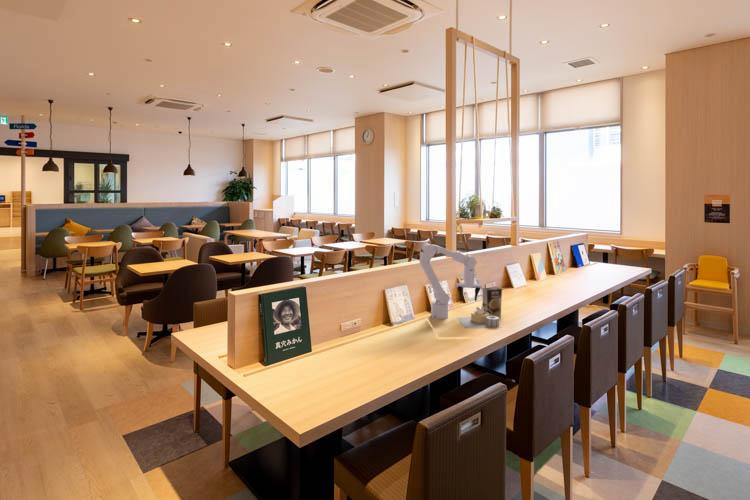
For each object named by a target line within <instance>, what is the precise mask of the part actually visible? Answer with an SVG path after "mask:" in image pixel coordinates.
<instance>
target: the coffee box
mask: <svg viewBox="0 0 750 500" xmlns="http://www.w3.org/2000/svg"><path fill="white" fill-rule="evenodd" d="M502 292H503V289H502V288H499V287H497V286H495V287H493V286H492V287H482V305H481V307H483V308H484V311H485V312H488V313H490V316H497V317H499V318H500V317H501V316H502V300H503V299H502V296H503V295H502V294H503V293H502Z"/></svg>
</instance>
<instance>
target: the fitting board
mask: <svg viewBox="0 0 750 500" xmlns="http://www.w3.org/2000/svg"><path fill="white" fill-rule="evenodd" d="M470 316H471V317H469V316H467V317H462V316H461V317H456V319H457V320H458V322H459V323H460V324H461V325H462V327H463V328H464V329H494V328H495V329H497V328H501V329H502V328H504V327H503V326H502V325H501V324H500V316H499V317H498V316H497V315H493V316H490V313H488V312H485V311H484V314H476V310H473V311H471V312H470Z"/></svg>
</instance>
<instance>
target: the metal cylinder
mask: <svg viewBox="0 0 750 500" xmlns="http://www.w3.org/2000/svg"><path fill="white" fill-rule="evenodd" d="M475 311H476V314H484V308H483V307H482V306H477V307H476V310H475Z"/></svg>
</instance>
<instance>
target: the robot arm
mask: <svg viewBox="0 0 750 500" xmlns="http://www.w3.org/2000/svg"><path fill="white" fill-rule="evenodd" d="M439 254H442V255H445V256H448V257H451V259H452V261H455V262H457V263H460V264H464V267H463V271H464V273H463V275H464V277H463V282H462V283H458V282H457V283H455V287H456V288H457V290H458V291H457V292H458V293H459V296H460V301H463V300H464V288H465V289H466V288H467V289H468V288H469V289H474V302H477V299H478V295H479V293H480V290H481V289H482V290H483V284H478V283H475V270H476V269H475V267H476V266H477V259H476V258H475V257H474V256H472V255H470V254H469V253H464V252H462V250H454V251H452V250H449V249H447V248H445V247H442V246H440V245H436V244H433V243H429V242H424V243H423V244H422V245H421V246H420V248H419V264H420V266H421V268H422V269H423V272H424V274H425V276H426V278H427V280H428V282H429V284H430V285H431V288H432V292H433V297H434V300H435V302H434V303H431V304H430V316H431V318H432V320H433V319H439V320H440V319H441V320H442V319H443V320H445V319H448V317H449V302H450V296H449V294H448V293H446V290H445V289H444V288H443V286H442V285H441V283H440V280H439V279H438V277H437V275H436V273H435V271H434V268H433V266H432V265H431V263H430V262H431V260H432V258H433V257H434V256H435V255H439Z"/></svg>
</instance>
